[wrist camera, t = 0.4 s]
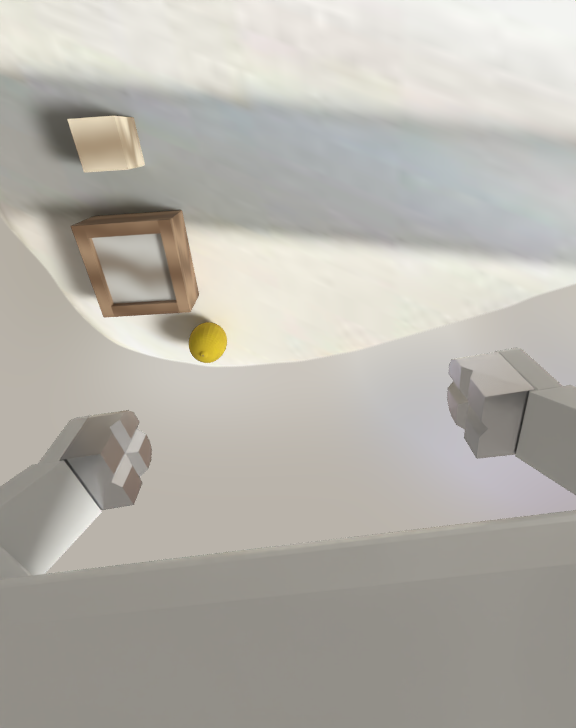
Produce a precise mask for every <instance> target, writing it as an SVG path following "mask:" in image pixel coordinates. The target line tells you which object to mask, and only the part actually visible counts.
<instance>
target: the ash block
mask: <svg viewBox="0 0 576 728" xmlns="http://www.w3.org/2000/svg"><path fill="white" fill-rule="evenodd" d="M67 120H68V123H69V126H70V129H71V133H72V136H73V139H74V142H75V145H76V148H77V151H78V155H79V158H80V161H81V164H82V167H83V170H84V172H99V171H113V170H127V169H132V168H136V167H141V166H145V163H144V159H143V155H142V150H141V146H140V142H139V138H138V134H137V129H136V125H135V121H134V118H132V117H122V116H103V117H89V118H75V119H67Z"/></svg>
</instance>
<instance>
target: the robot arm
mask: <svg viewBox="0 0 576 728" xmlns="http://www.w3.org/2000/svg"><path fill="white" fill-rule="evenodd" d="M449 375H450V377H451V378H452V379H453V383H452V384H451V385H450V386H449V387H448V393H447V400H448V406H449V410H450V413H451V416H452V418H453V420H454V421H455V423H456V425H458V426H460V427H461V428H463V429H465V433H464V438H465V440H466V442H467V443H468V445H469V446H470V448H471V450H472V452H473V453H474V455H475V457H476V458H486V457H496V456H505V455H514V454H516V455H515V456H516V457H518V458H519V459H521V460H522V461H524V462H525V463H527V464H528V465H530V466H532V467H533V468H535V469H536V470H538V471H539V472H541V473H542V474H544V475H545V476H547V477H548V478H550V479H552V480H553V481H555V482H556V483H558V484H559V485H561V486H562V487H564V488H566V489H567V490H568V491H570V492H572V493H574V494H575V495H576V387H574V386H571V385H567V386H562V385H561V384H560V383H559V382H557V381H556V380H555V379H554V378H553V377H552V376H551V375H550V374H549V373H548V372H547V371H545V370H544V369H543V368H542V367H541V366H540V365H539V364H538V363H536V362H535V361H534V360H533V359H532V358H531V357H530V356H529V355H528V354H527V353H525V352H524V351H523V350H522V349H519V348H511V349H506V350H500V351H495V352H493V353H487V354H481V355H475V356H469V357H463V358H457V359H452V360H451V362H450V364H449ZM138 425H139V420H138V418H137V417H136V415H135V413H134V412H132V411H129V410H126V411H119V412H111V413H104V414H98V415H93V416H92V415H90V416H84V417H77V418H74V419H72V420H70V421H69V422H68V424H67V425H66V426H65V428H64V429H63V430H62V432H61V433H60V434H59V436H58V437H57V438H56V440H55V441H54V442H53V444H52V445H51V447H50V448H49V449H48V451H47V452H46V453H45V455H44V456H43V457H42V459H41V460H40V462H39V463H38V464H35V465H31V466H29V467H28V468H27V469H25V470H24V471H22V472H21V473H19V474H18V475H16V476H15V477H14V478H12V479H10V480H9V481H8V482H6V483H5V484H3V485H2V486H0V728H576V510H573V511H564V512H557V513H548V514H539V515H531V516H524V517H514V518H506V519H498V520H490V521H481V522H473V523H464V524H456V525H449V526H439V527H431V528H423V529H415V530H406V531H398V532H390V533H381V534H374V535H365V536H357V537H348V538H340V539H333V540H323V541H315V542H307V543H299V544H290V545H282V546H274V547H265V548H257V549H249V550H241V551H232V552H224V553H215V554H207V555H198V556H190V557H182V558H174V559H165V560H157V561H149V562H141V563H132V564H124V565H115V566H107V567H99V568H91V569H83V570H74V571H66V572H57V573H49V574H45V573H46V572H47V571H48V570H49V569H50V568H51V566H52V565H53V564H54V563H55V562H56V561H57V560H58V559H59V558H60V557H61V555H62V554H63V553H64V552H65V551H66V550H67V549H68V548H69V547H70V546H71V545H72V544H73V543H74V542H75V540H76V539H77V538H78V537H79V536H80V535H81V534H82V533H83V532H84V531H85V530H86V528H87V527H88V526H89V525H90V524H91V523H92V522H93V521H94V520H95V519H96V517H97V516H98V515H99V514H100V513H101V512H102V511H101V510H106V509H112V508H118V507H124V506H130V505H134V503H135V500H136V498H137V495H138V493H139V490H140V488H141V485H142V481H141V479H140V476H141V475H142V474H143V473H144V472H145V471H146V470H147V469H148V468H149V465H150V462H151V455H152V449H151V444H150V441H149V439H148V437H147V435H146V434H145V433H143V432H142V431H140V430H139V429H137V427H138Z"/></svg>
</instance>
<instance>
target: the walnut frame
mask: <svg viewBox="0 0 576 728" xmlns="http://www.w3.org/2000/svg"><path fill="white" fill-rule="evenodd" d="M71 228H72V231H73V234H74V237H75V239H76V242H77V245H78V248H79V250H80V253H81V256H82V259H83V262H84V264H85V267H86V270H87V273H88V275H89V278H90V281H91V284H92V286H93V289H94V292H95V295H96V297H97V300H98V303H99V306H100V309H101V311H102V314H103V317H119V316H135V315H151V314H167V313H183V312H191V310H192V308H193V306H194V304H195V302H196V300H197V298H198V296H199V292H198V288H197V283H196V278H195V273H194V268H193V263H192V258H191V253H190V248H189V243H188V238H187V233H186V228H185V223H184V218H183V213H182V210H179V211H165V212H150V213H135V214H120V215H106V216H93V217H91V218H88V219H86V220H84V221H82V222H79V223H77V224H75V225H72V226H71Z"/></svg>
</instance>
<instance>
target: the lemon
mask: <svg viewBox="0 0 576 728" xmlns="http://www.w3.org/2000/svg"><path fill="white" fill-rule="evenodd" d="M226 345H227V337H226V334H225V332H224V330H223V329H222V328H221V327H220V326H219V325H217V324H215V323H211V322H206V323H202V324H200V325H198V326H197V327H196V328H195V329H194V330H193V331H192V333H191V335H190V338H189V349H190V352H191V354H192V356H193V357H194V358H195V359H197V360H198V361H200V362H204V363H210V362H214V361H216V360H217V359H219V358H220V357H221V356H222V354H223V353H224V351H225V349H226Z"/></svg>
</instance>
